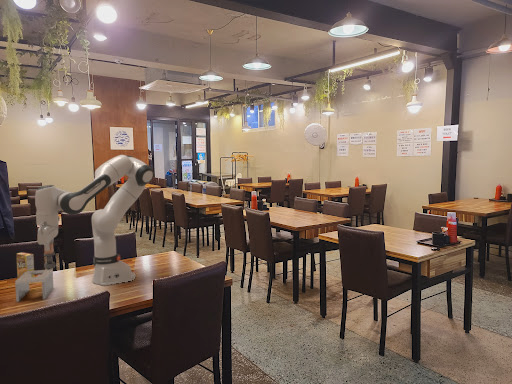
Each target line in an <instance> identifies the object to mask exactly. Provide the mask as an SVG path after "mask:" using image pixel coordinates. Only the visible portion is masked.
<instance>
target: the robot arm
mask: <svg viewBox="0 0 512 384" xmlns="http://www.w3.org/2000/svg"><path fill="white" fill-rule="evenodd" d="M154 174H155V172H154V170H153V168H152V167H151V166H150V165H148V164H147V163H146V162H144V161H143V160H141V159H138V158H136V157H134V156H132V155H127V154H126V155H125V154H119V155H117V156H116V155H115V156H114V157H112V158H110V159H108V160H107V161H105V162H103V163H102V164H101V165H100V166H98V167H97V168H96V169H95V171H94V179H93V180H92V181H91V182H90V183H88V184H87V185H85V186H84V187H83V188H82V189H80V190H78V191H75V192H73V191H69V190H64V189H62V188H59V187H57V186H55V185H54V184H48V185H43V186H39V187H38V188H37V189H36V190H35V194H34V196H35V197H34V198H35V199H34V201H35V202H34V204H35V209H36V212H35V218H36V221H35V222H36V223H35V224H36V226H39V227H38V229H37V244H38V245H40V246H41V245H43V246H45V250H44V252H45V251H49V250H50V244H53V245H54V238H56V237H57V236H58V234H59V222H60V215H59V212H61V211H62V212H64V213H65V214H67V215H71V216H74V215H79V214H80V213H81V212H83V211H84V210H85V208H86V206H87V205H88V204H89V202H90V201H91V200H93V199H94V198H95V197H97V196H98V195H99V194H101V193H102V192H103V191H104V190H105V189H107V188H108V187H110V186H112V185H113V184H115V183H116V182H118V181H119V180H121V179H122V178H123V177H124V176H127V177H128V178H127V181H125V182H124V183H123V184H122V185H121V186H120V187H119V188H118V190H116V192H115V193H114V194H112V196H111V197H110V199H109V201H108V202H107V204H106V205H105V206H104V208H100V209H97V210H96V211H94V212H93V213H92V215H91V227H92V229H91V230H92V237H93V245H94V246H93V248H94V255H93V266H94V269H93V270H94V271H93V277H92V283H93V284H95V285H100V286H104V287H105V286H111V284H112V285H117V284H116V283H119V284H123V283H122V282H125V283H129V282H128V281H131V282H133V281H134V279H135V280H136V278H135V277H136V276H137V275H136V273H134V272H133V271H132V269H131V266H130V265H129V264H128V263H126V262H124V261H123V260H121V254H119V253H117V239H116V236H115V230H116V229H117V227H118V224H120V222H121V221H122V219H123V218H124V216H125V214H126V212H127V211H128V210H129V209H130V208H131V207H132V206H133V204H134V203H135V202H136V201H137V200H138V199H139V197H140V196H141V195H142V193H143V191H145V188H146V185H148V184H149V183H150V182H151V181H152V180H153V178H154ZM132 280H133V281H132Z"/></svg>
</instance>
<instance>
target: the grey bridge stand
mask: <svg viewBox="0 0 512 384" xmlns="http://www.w3.org/2000/svg"><path fill="white" fill-rule="evenodd" d="M53 269H54V268H51V269H41V270H40V269H39V270H34V271H26V272H25V273H24V274H23V275H22V276H21V277H19V278H18V277H17V279H16V280H15V281H14V283H15V285H14V286H15V298H16V299H15V300H16V303H19V302H20V301H21V300H23V298H24V297H25V296H26V295H27V294H28V293H29V291H30V284H31V283H41V290H42V291H41V292H42V300H46V299H47V297H49V295H50V293H51V292H52V291H53V290H54V271H53ZM32 274H34V275H36V274H37V276H34V277H32V278H31V275H32Z"/></svg>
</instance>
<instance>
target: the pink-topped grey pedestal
mask: <svg viewBox="0 0 512 384" xmlns="http://www.w3.org/2000/svg"><path fill="white" fill-rule="evenodd" d="M43 246H44V245H43ZM54 249H55V248H54V243H53V244H50V250H49V251H45V246H44V249H43V250H44V253H43V256H44V257H46V262H44V264H43V265H44V270H51V269H55V268H56V262H55V261H53V256H55V253H56V252H55V251H54Z"/></svg>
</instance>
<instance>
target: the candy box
mask: <svg viewBox="0 0 512 384" xmlns="http://www.w3.org/2000/svg"><path fill="white" fill-rule="evenodd" d="M34 260H35V259H34V253H28V252H23V251H22V252H18V253H16V271H17V279H18V278H19V277H21V276H22V275H23V274H24V273H25V272H26V271H35V261H34ZM32 277H35V274H32V275H31V278H32Z"/></svg>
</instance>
